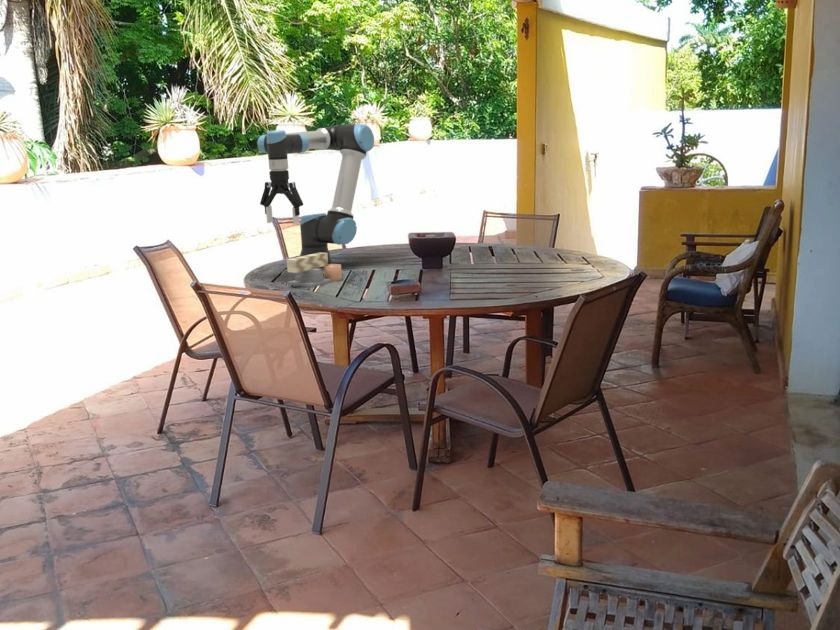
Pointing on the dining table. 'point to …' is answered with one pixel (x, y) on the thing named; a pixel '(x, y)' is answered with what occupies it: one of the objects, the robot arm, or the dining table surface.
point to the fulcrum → (309, 278)
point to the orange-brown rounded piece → (333, 272)
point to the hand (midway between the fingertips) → (283, 223)
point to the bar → (307, 262)
